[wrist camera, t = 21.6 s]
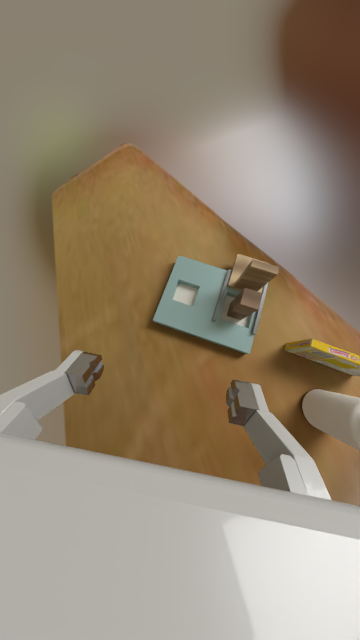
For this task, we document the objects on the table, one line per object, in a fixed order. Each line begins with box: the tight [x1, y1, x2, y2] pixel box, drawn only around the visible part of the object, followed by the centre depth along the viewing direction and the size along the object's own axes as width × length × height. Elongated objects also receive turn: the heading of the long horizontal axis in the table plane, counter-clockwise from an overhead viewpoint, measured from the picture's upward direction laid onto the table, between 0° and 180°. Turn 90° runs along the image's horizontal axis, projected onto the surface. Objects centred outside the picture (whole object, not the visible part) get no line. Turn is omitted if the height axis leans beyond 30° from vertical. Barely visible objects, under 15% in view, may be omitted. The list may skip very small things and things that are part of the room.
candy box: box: [284, 339, 360, 376], centre depth 34 cm, size 16×2×8 cm, turn 69°
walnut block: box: [227, 288, 262, 320], centre depth 35 cm, size 4×4×9 cm
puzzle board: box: [153, 256, 268, 354], centre depth 39 cm, size 18×23×3 cm
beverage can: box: [302, 389, 360, 450], centre depth 30 cm, size 8×8×12 cm
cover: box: [227, 254, 279, 293], centre depth 35 cm, size 9×8×10 cm
